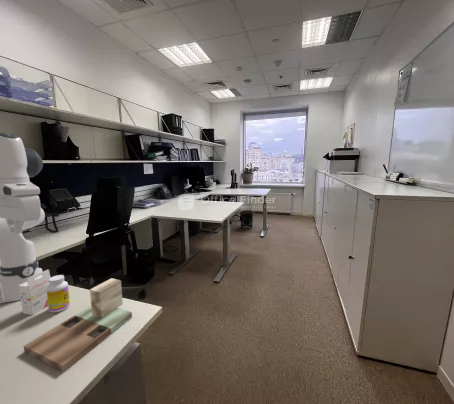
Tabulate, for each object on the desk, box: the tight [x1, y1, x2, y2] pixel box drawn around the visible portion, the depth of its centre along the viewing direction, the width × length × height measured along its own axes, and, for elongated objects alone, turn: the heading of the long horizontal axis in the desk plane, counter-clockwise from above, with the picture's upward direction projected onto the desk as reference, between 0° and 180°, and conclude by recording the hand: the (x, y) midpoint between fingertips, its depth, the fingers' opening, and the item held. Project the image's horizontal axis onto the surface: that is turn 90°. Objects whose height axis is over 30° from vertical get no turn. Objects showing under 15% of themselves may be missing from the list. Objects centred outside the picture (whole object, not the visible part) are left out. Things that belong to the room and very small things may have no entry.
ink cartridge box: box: [19, 269, 51, 316], centre depth 84 cm, size 9×5×15 cm, turn 168°
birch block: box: [89, 277, 124, 318], centre depth 81 cm, size 5×9×10 cm, turn 158°
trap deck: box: [23, 305, 133, 373], centre depth 72 cm, size 18×24×2 cm
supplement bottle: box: [46, 274, 71, 314], centre depth 84 cm, size 7×7×13 cm
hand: (16, 232), depth 66 cm, fingers closed
